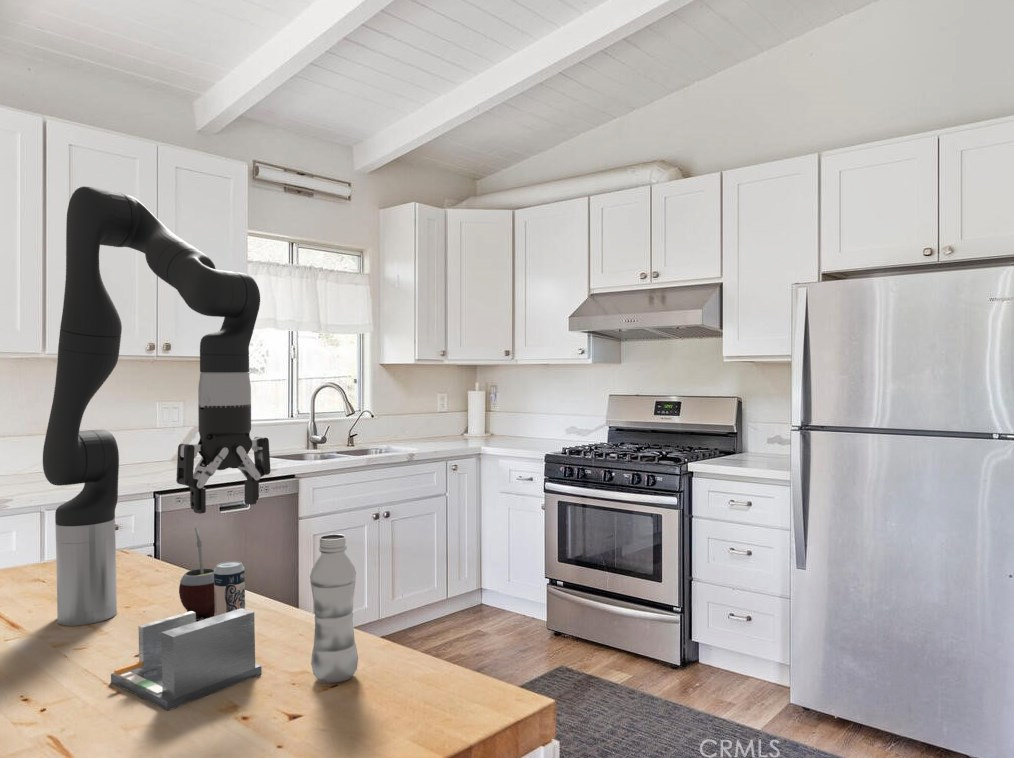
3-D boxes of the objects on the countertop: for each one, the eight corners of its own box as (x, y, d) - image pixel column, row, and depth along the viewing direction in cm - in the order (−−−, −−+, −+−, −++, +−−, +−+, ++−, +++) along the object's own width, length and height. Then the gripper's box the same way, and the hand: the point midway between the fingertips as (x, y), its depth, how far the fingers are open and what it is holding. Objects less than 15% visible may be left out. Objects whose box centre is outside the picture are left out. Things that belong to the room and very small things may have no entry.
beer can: (235, 643, 119) (234, 568, 119) (208, 641, 120) (207, 567, 120) (251, 633, 124) (250, 561, 124) (225, 631, 125) (224, 559, 125)
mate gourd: (202, 625, 128) (200, 538, 128) (166, 620, 131) (164, 535, 130) (232, 612, 135) (231, 529, 135) (197, 607, 138) (196, 526, 137)
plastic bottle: (317, 692, 100) (315, 544, 100) (306, 674, 106) (304, 535, 106) (364, 683, 103) (362, 539, 103) (351, 666, 109) (348, 530, 109)
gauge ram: (111, 675, 103) (111, 632, 103) (190, 649, 113) (189, 610, 112) (117, 678, 102) (116, 635, 102) (196, 652, 112) (195, 612, 111)
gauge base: (111, 682, 105) (109, 617, 105) (203, 651, 116) (202, 592, 116) (167, 710, 96) (165, 639, 96) (261, 674, 107) (260, 610, 107)
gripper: (252, 399, 121) (252, 498, 122) (166, 403, 110) (167, 512, 111) (279, 401, 117) (280, 504, 117) (193, 405, 106) (194, 519, 106)
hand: (225, 508), depth 114 cm, fingers open, 8 cm apart
